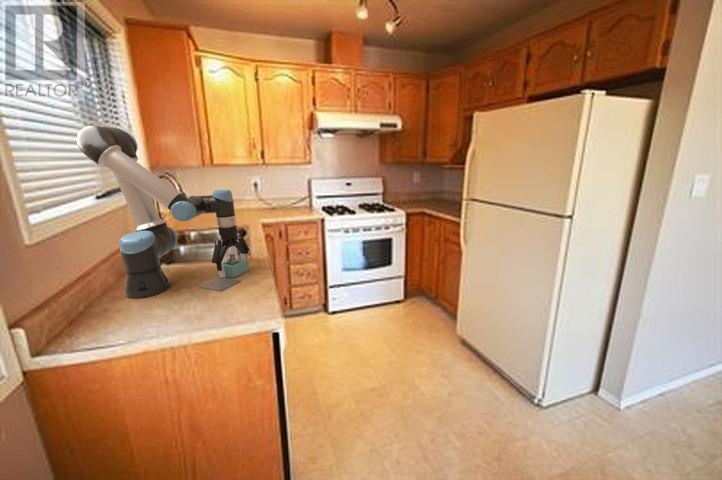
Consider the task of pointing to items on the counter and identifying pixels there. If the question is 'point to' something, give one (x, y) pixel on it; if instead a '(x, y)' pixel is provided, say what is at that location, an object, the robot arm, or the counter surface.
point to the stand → (232, 262)
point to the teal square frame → (235, 268)
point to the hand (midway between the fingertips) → (234, 272)
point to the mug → (230, 251)
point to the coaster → (220, 284)
